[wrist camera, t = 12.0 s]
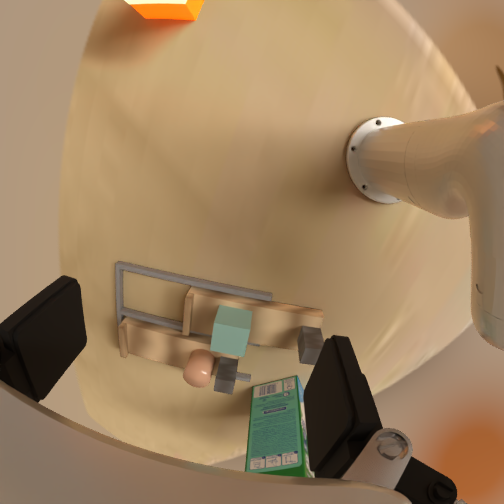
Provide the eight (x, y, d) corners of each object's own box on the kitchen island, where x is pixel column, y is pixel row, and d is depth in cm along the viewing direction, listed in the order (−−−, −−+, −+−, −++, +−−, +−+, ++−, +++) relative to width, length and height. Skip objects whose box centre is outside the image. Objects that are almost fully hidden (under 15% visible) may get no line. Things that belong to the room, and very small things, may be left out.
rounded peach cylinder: (216, 352, 46) (211, 371, 42) (213, 370, 48) (208, 389, 43) (191, 346, 46) (183, 365, 42) (189, 364, 48) (182, 383, 43)
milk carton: (309, 402, 53) (319, 509, 29) (267, 412, 54) (263, 516, 31) (297, 374, 50) (306, 493, 27) (251, 386, 52) (241, 500, 28)
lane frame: (272, 293, 45) (272, 296, 44) (250, 377, 51) (249, 381, 50) (118, 260, 45) (115, 263, 44) (122, 346, 51) (119, 350, 50)
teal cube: (252, 311, 43) (250, 329, 38) (246, 337, 45) (244, 357, 40) (219, 304, 43) (213, 322, 38) (215, 331, 45) (209, 350, 40)
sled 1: (241, 342, 48) (236, 373, 41) (235, 370, 50) (230, 401, 43) (127, 315, 48) (107, 340, 40) (128, 344, 50) (111, 370, 43)
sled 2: (321, 310, 45) (330, 339, 38) (309, 343, 48) (315, 374, 40) (191, 285, 45) (177, 311, 38) (188, 321, 47) (175, 349, 40)
